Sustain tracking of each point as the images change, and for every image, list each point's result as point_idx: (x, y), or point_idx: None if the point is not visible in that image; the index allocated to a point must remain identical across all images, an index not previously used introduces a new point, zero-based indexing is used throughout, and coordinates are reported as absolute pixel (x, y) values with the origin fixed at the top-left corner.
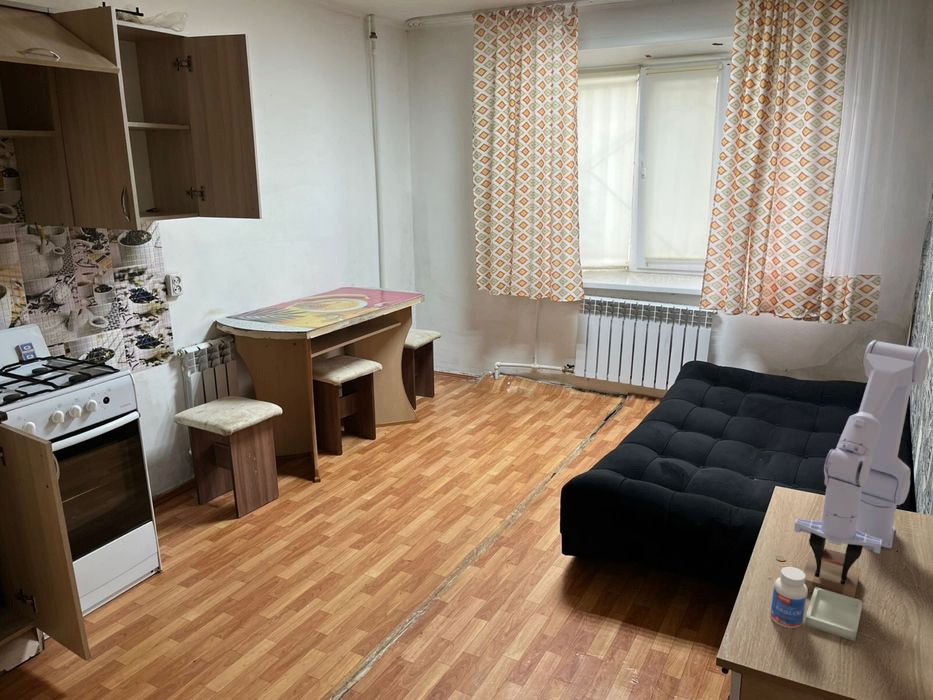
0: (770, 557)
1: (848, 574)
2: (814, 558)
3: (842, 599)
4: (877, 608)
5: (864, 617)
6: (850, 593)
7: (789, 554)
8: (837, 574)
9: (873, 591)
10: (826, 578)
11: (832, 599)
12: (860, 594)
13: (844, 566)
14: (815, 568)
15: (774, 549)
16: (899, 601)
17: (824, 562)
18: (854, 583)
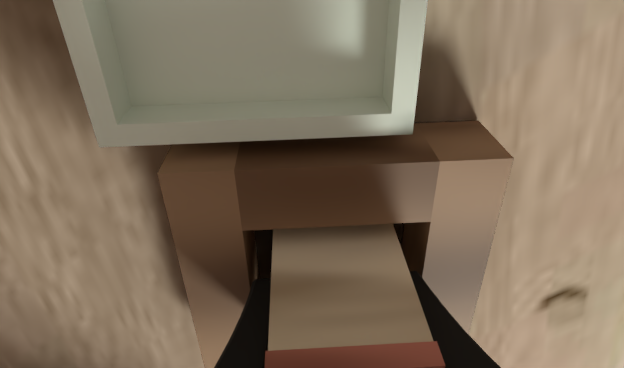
0: (611, 294)
1: None
2: None
3: (227, 112)
4: (59, 175)
5: None
6: (184, 168)
7: (518, 348)
8: (296, 282)
9: (134, 292)
10: (355, 241)
11: (288, 99)
12: None
13: (257, 357)
14: None
15: (582, 349)
16: (8, 282)
17: (407, 334)
18: (195, 273)
